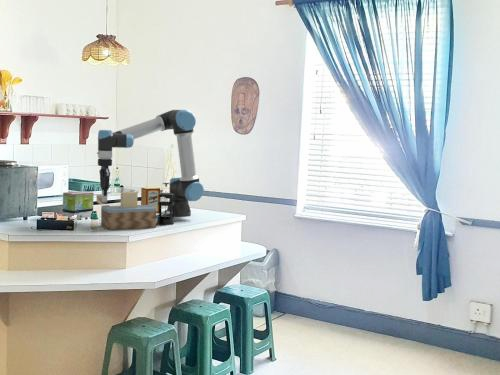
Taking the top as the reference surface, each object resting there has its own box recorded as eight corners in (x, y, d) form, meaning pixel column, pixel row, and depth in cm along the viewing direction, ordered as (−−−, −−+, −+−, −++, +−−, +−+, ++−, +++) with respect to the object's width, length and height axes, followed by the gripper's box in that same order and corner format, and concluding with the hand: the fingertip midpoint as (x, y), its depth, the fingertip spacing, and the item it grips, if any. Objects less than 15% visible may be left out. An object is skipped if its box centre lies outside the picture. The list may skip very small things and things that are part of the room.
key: (102, 202, 347) (102, 194, 347) (107, 204, 339) (107, 196, 339) (96, 202, 345) (96, 195, 345) (100, 204, 338) (100, 197, 337)
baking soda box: (154, 211, 391) (154, 186, 389) (159, 213, 386) (160, 187, 384) (140, 212, 385) (141, 187, 383) (146, 214, 380) (146, 188, 378)
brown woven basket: (145, 222, 348) (145, 204, 347) (155, 227, 334) (156, 208, 332) (99, 224, 336) (99, 205, 335) (108, 230, 321) (108, 210, 320)
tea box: (74, 219, 349) (75, 193, 347) (61, 218, 354) (62, 192, 352) (93, 216, 362) (94, 191, 360) (81, 215, 367) (81, 190, 365)
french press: (164, 225, 341) (165, 184, 338) (152, 223, 346) (153, 182, 344) (179, 223, 350) (180, 183, 347) (167, 221, 355) (168, 181, 353)
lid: (147, 210, 345) (147, 190, 344) (156, 213, 333) (156, 193, 332) (101, 211, 332) (101, 191, 331) (108, 215, 320) (108, 194, 319)
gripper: (94, 157, 339) (94, 200, 342) (101, 159, 328) (100, 203, 330) (108, 157, 343) (107, 199, 345) (115, 159, 331) (114, 202, 334)
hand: (104, 201), depth 338 cm, fingers closed
